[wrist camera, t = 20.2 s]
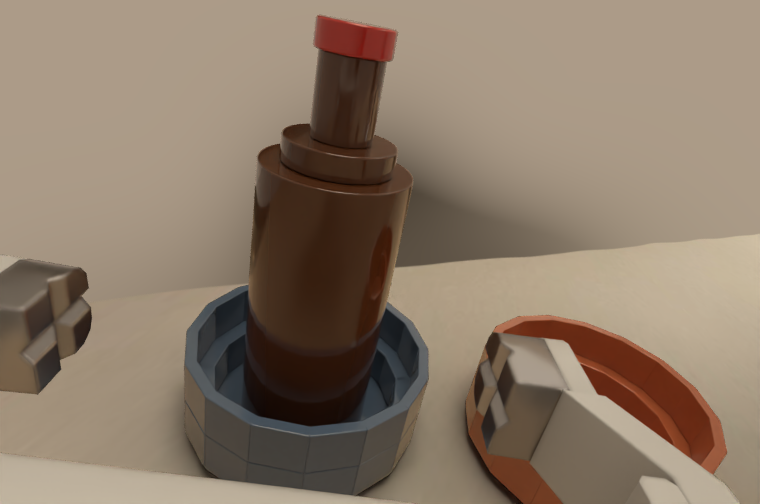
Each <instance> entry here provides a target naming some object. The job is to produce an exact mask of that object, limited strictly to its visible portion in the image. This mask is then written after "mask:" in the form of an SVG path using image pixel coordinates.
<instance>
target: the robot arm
mask: <svg viewBox="0 0 760 504" xmlns="http://www.w3.org/2000/svg"><path fill="white" fill-rule="evenodd" d="M88 288H89V287H88V281H87V275H86V272H84V271H83V270H82V269H81V268H79V267H73V266H67V265H61V264H55V263H50V262H44V261H39V260H32V259H25V258H22V257H15V256H8V255H0V391H9V392H18V393H28V394H37V395H38V394H39V393H40V392H41V391H42V390H43V388H44V387H45V386H46V385H47V384H48V383H49V382H50V381H51V380H52V379H53V378H54V376H55V375H56V374H57V373H58V372H59V371H60V370H61V366H60V360H61V359H64V358H66V357H68V356H71V355H73V354H75V353H76V352H77V351H78V350H79V349H80V348H81V346H82V345H83V344H84V342H85V340H86V338H87V336H88V333H89V331H90V328H91V320H92V315H91V307H90V306H89V304H88V303H87V302H86V301H85V300H84V299H83V297H82V295H83V294H84V293H85V292H86V290H87V289H88ZM485 348H486V352H487V355H488V358H487V359H486V360H485V361H483V362H482V363H481V364H479V367H478V370H477V373H476V377H475V384H474V400H475V405H476V409H477V411H478V412H479V413H480V414H481V415H482V416H483V417H484V419H483V422H482V425H481V430H482V434H483V438H484V442H485V446H486V450H487V454H490V455H496V456H502V457H508V458H515V459H521V460H527V461H530V464H531V465H532V467H533V468H534V469H535V470H536V471H537V473H538V474H539V475H540V476H541V477H542V479H543V480H544V481H545V482H546V483H547V485H548V486H549V487H550V488H551V489H552V491H553V492H554V493H555V494H556V496H557V497H558V498H559V499H560V500H561V502H562V503H563V504H740V502H739V501H738V500H737V498H736V497H735V496H734V494H733V493H732V491H731V490H730V489H729V487H728V486H727V485H726V484H724V483H723V482H722V481H720V480H719V479H718V478H716V477H715V476H714V475H712V474H711V473H710V472H708V471H707V470H705V469H704V468H703V467H701V466H700V465H699V464H697V463H696V462H695V461H693V460H692V459H690V458H689V457H688V456H686V455H685V454H684V453H682V452H681V451H680V450H678V449H677V448H675V447H674V446H673V445H671V444H670V443H669V442H667V441H666V440H665V439H663V438H662V437H660V436H659V435H658V434H656V433H655V432H654V431H652V430H651V429H650V428H648V427H647V426H645V425H644V424H643V423H641V422H640V421H639V420H637V419H636V418H635V417H633V416H632V415H630V414H629V413H628V412H626V411H625V410H624V409H622V408H621V407H620V406H618V405H617V404H615V403H614V402H613V401H611V400H610V399H609V398H607V397H606V396H602V395H598V394H597V393H596V391H595V389H594V387H593V386H592V384H591V382H590V380H589V379H588V377H587V375H586V374H585V372H584V370H583V368H582V367H581V365H580V363H579V361H578V360H577V358H576V356H575V354H574V353H573V351H572V349H571V348H570V346H569V344H568V343H566V342H565V341H563V340H556V339H547V338H536V337H529V336H521V335H514V334H506V333H499V332H492V334H491V335H490V337H489V339H488V341H487V344H486V347H485ZM0 504H416V503H408V502H400V501H392V500H384V499H376V498H368V497H360V496H352V495H344V494H336V493H328V492H320V491H312V490H304V489H296V488H288V487H280V486H271V485H263V484H255V483H247V482H238V481H230V480H222V479H214V478H205V477H197V476H189V475H181V474H173V473H164V472H156V471H148V470H140V469H131V468H123V467H115V466H107V465H98V464H90V463H82V462H74V461H66V460H58V459H49V458H41V457H33V456H25V455H17V454H9V453H0Z"/></svg>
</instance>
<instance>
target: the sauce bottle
mask: <svg viewBox="0 0 760 504" xmlns="http://www.w3.org/2000/svg"><path fill="white" fill-rule="evenodd" d="M397 36H398V32H397V31H396V30H394V29H390V28H386V27H381V26H377V25H372V24H367V23H362V22H357V21H352V20H347V19H342V18H336V17H331V16H325V15H317V16H316V22H315V31H314V40H313V45H314V47H316V48H318V58H317V68H316V77H315V85H314V94H313V103H312V112H311V121H310V124H297V125H292V126H288V127H286V128H284V129H283V130H282V132H281V141H280V144H275V145H271V146H268V147H266V148H264V149H262V150H261V151H260V152H259V153H258V155H257V162H256V163H257V164H256V179H255V194H254V209H253V226H252V241H251V256H250V273H249V287H248V303H247V318H246V334H245V349H244V365H243V380H242V396H241V406H242V407H243V408H245V409H247V410H249V411H250V412H252V413H254V414H255V415H257V416H260V417H265V418H270V419H275V420H280V421H285V422H290V423H295V424H300V425H305V426H310V427H311V426H320V425H329V424H338V423H347V422H356V421H361V417H362V413H363V408H364V403H365V399H366V394H367V390H368V385H369V381H370V376H371V372H372V367H373V363H374V358H375V354H376V349H377V345H378V340H379V336H380V331H381V327H382V322H383V318H384V313H385V309H386V304H387V300H388V295H389V290H390V286H391V281H392V277H393V272H394V268H395V263H396V259H397V254H398V250H399V245H400V241H401V236H402V232H403V227H404V223H405V218H406V214H407V209H408V205H409V200H410V196H411V191H412V187H413V177H412V175H411V174H410V172H409V171H408V170H406V169H405V168H404V167H402V166H401V165H399V164H397V163H396V161H397V156H398V149H397V147H396V146H395V145H394V144H392V143H391V142H389V141H388V140H385V139H384V138H381V137H379V136H376V135H374V133H375V128H376V122H377V116H378V111H379V105H380V99H381V93H382V87H383V82H384V76H385V70H386V65H387V62H390V61H392V60H393V58H394V53H395V47H396V42H397Z"/></svg>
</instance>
